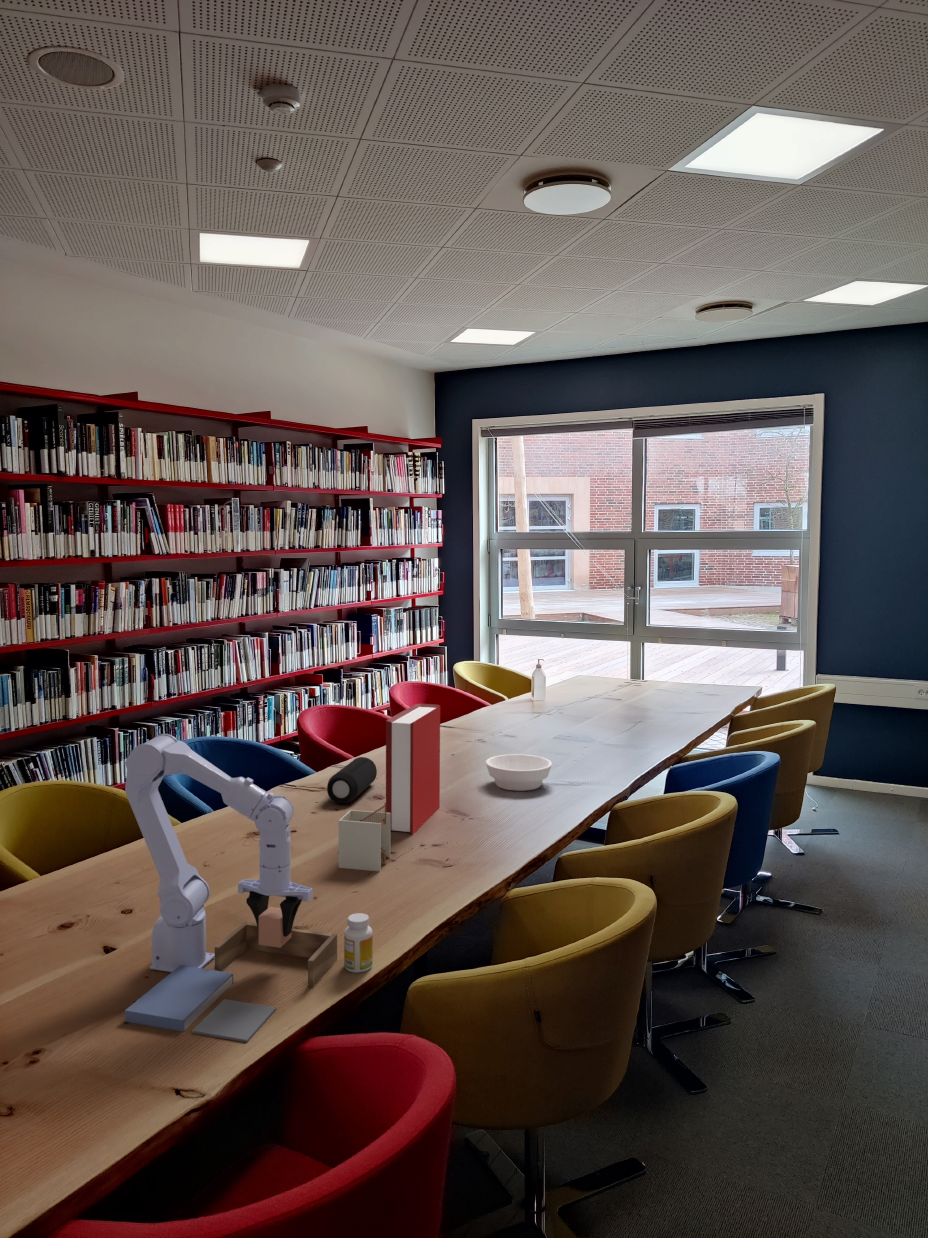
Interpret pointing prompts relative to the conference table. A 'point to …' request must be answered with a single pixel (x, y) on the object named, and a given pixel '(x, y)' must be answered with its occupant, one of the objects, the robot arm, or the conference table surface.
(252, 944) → the walnut u-shaped open frame
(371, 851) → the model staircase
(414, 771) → the book
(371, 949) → the supplement bottle
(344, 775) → the portable speaker
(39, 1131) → the conference table surface
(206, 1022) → the felt mat
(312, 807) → the conference table surface
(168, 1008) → the navy book
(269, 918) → the terracotta block
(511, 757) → the bowl
